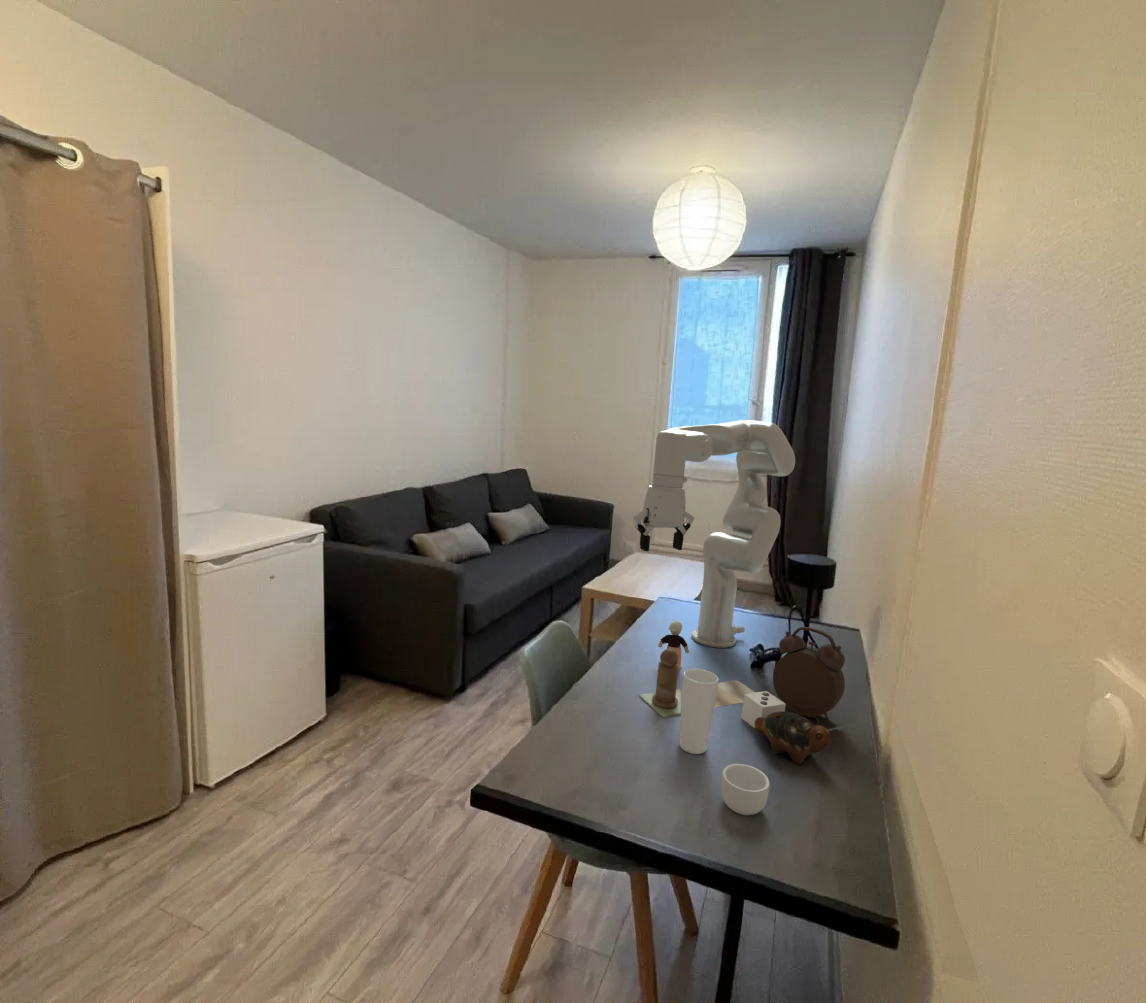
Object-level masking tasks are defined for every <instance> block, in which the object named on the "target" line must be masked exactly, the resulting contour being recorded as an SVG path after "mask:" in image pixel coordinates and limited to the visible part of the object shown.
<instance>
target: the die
mask: <svg viewBox="0 0 1146 1003" xmlns="http://www.w3.org/2000/svg"><path fill="white" fill-rule="evenodd" d="M755 692H756V691H755ZM785 706H786V704H785V703H784V702H782V701H781V700H780V698H779V697H776V696H775V695H773V693H770V691H768V690H765V691H757V692H756V693H749V694H744V701H743V703H742V709H741V719H742V720H743V721H745V723H747V724H748V725H749V726H751V727H752V728H754V729H755V720H756V719H757V718H759V717H761V718H766V717H767V716H768V715H770V714H772V713H775V712H780V711H782V712H786V707H787V706H786V707H785Z"/></svg>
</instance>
